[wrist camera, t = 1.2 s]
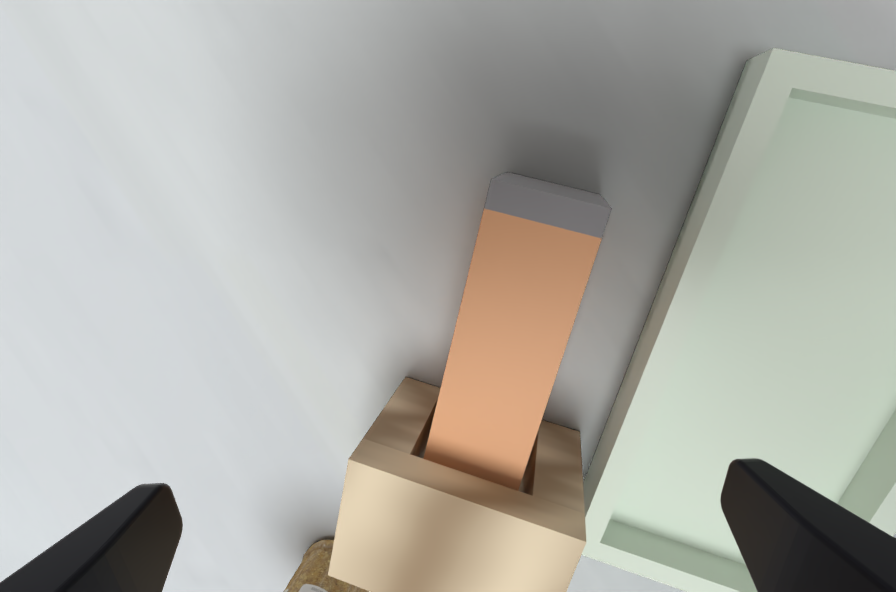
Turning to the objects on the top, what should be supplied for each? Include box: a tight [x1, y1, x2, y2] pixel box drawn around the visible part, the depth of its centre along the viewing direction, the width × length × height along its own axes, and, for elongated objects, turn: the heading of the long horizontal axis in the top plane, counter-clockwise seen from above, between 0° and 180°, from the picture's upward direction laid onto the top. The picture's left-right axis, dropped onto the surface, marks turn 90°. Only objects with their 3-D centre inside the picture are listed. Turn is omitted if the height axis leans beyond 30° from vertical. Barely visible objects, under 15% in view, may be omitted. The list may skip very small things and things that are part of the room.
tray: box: [581, 48, 896, 592], centre depth 19 cm, size 11×22×2 cm, turn 170°
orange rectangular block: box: [424, 172, 612, 491], centre depth 20 cm, size 4×14×5 cm, turn 170°
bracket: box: [328, 377, 586, 592], centre depth 22 cm, size 9×6×7 cm, turn 80°
